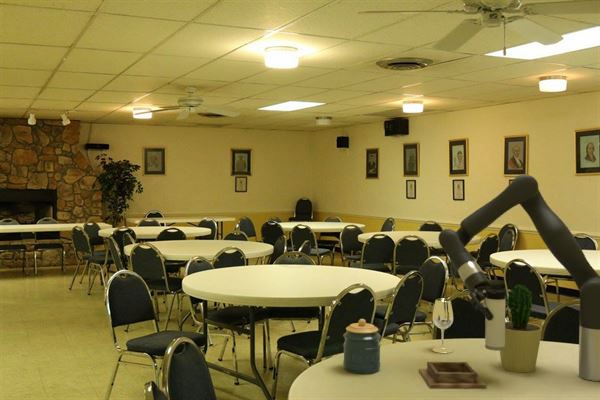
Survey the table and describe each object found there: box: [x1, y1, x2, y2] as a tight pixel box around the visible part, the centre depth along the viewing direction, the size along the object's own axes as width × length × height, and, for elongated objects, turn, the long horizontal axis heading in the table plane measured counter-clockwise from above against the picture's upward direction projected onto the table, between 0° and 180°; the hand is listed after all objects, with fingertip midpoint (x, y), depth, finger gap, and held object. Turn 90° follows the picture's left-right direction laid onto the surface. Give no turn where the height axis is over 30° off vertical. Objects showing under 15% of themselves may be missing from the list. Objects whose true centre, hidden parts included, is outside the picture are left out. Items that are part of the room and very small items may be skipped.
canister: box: [342, 318, 381, 375], centre depth 222 cm, size 13×13×18 cm
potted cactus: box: [499, 283, 543, 373], centre depth 225 cm, size 15×15×30 cm
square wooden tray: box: [418, 361, 488, 389], centre depth 210 cm, size 18×18×4 cm
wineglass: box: [432, 298, 454, 354], centre depth 247 cm, size 8×8×20 cm
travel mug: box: [484, 286, 506, 352], centre depth 210 cm, size 6×7×20 cm
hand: (498, 317), depth 208 cm, fingers closed on travel mug, 6 cm apart
